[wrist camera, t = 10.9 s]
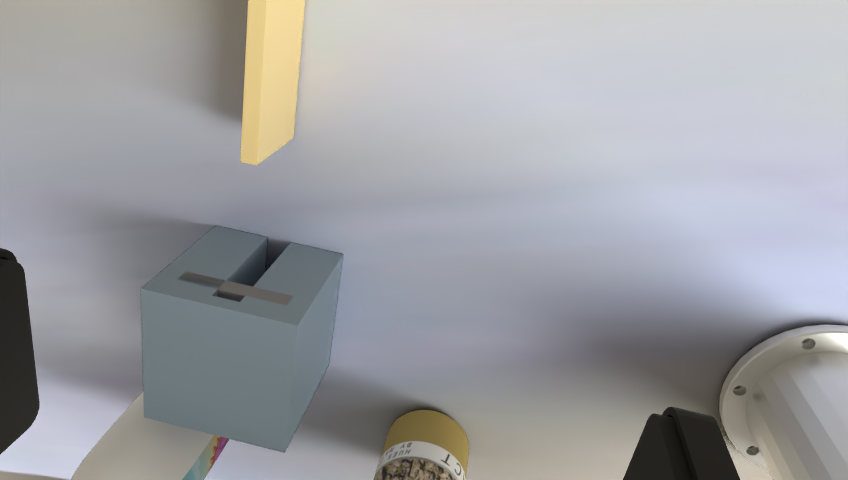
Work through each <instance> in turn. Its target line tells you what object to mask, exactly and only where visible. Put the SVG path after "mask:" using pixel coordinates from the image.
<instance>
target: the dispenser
mask: <svg viewBox="0 0 848 480" xmlns="http://www.w3.org/2000/svg"><path fill="white" fill-rule="evenodd" d="M266 251H267V237H265V236H260V235H256V234H252V233H247V232H243V231H238V230H234V229H229V228H225V227H221V226H215V227H214V228H212V229H211V230H210V231H209V232H208V233H206V234H205V235H204V236H203V237H202V238H200V239H199V240H198V241H197V242H196V243H194V244H193V245H192V246H191V247H190V248H188V249H187V250H186V251H185V252H184V253H183V254H181V255H180V256H179V257H178V258H177V259H175V260H174V261H173V262H172V263H171V264H169V265H168V266H167V267H166V268H165V269H163V270H162V271H161V272H160V273H159V274H157V275H156V276H155V277H154V278H153V279H152V280H150V281H149V282H148V283H147V284H146V285H144V286H143V287H142V288H141V324H142V363H143V403H144V418H148V419H152V420H156V421H160V422H164V423H168V424H172V425H176V426H180V427H184V428H188V429H192V430H196V431H200V432H204V433H208V434H212V435H216V436H220V437H224V438H228V439H232V440H236V441H240V442H244V443H248V444H252V445H256V446H260V447H264V448H268V449H272V450H276V451H280V452H284V453H285V451H286V449H287V447H288V445H289V443H290V441H291V439H292V437H293V435H294V433H295V431H296V429H297V427H298V425H299V423H300V421H301V419H302V417H303V415H304V413H305V411H306V409H307V407H308V405H309V403H310V401H311V399H312V397H313V395H314V393H315V391H316V389H317V387H318V385H319V383H320V381H321V379H322V377H323V375H324V373H325V371H326V369H327V367H328V365H329V360H330V352H331V344H332V337H333V329H334V321H335V314H336V306H337V298H338V291H339V283H340V275H341V268H342V260H343V254H340V253H336V252H331V251H327V250H322V249H318V248H313V247H309V246H305V245H300V244H296V243H290V244H289V245H288V246H287V247H286V249H285V250H284V251H283V252H282V253H281V255H280V256H279V257H278V258H277V259H276V260H275V262H274V263H273V264H272V265H271V266H270V267H269V269H268V270H267V271H266V272H265V265H266Z"/></svg>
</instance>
